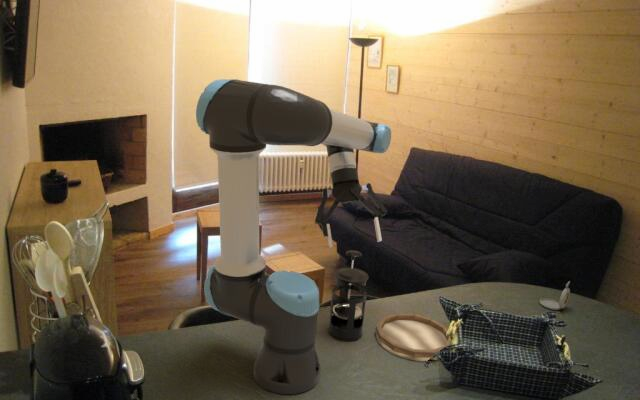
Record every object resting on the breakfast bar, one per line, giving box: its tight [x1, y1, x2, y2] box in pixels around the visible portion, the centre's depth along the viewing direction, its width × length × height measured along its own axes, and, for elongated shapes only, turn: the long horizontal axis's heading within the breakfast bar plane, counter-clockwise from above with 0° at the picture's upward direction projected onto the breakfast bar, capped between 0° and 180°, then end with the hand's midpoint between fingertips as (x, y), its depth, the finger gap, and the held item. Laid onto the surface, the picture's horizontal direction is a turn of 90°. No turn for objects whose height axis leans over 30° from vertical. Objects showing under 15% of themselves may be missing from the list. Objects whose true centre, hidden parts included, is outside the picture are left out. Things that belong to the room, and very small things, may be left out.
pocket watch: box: [539, 280, 571, 311], centre depth 166 cm, size 8×8×10 cm
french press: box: [327, 250, 370, 343], centre depth 138 cm, size 12×9×23 cm
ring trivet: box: [375, 312, 451, 362], centre depth 140 cm, size 20×20×2 cm
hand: (355, 244), depth 144 cm, fingers open, 13 cm apart
